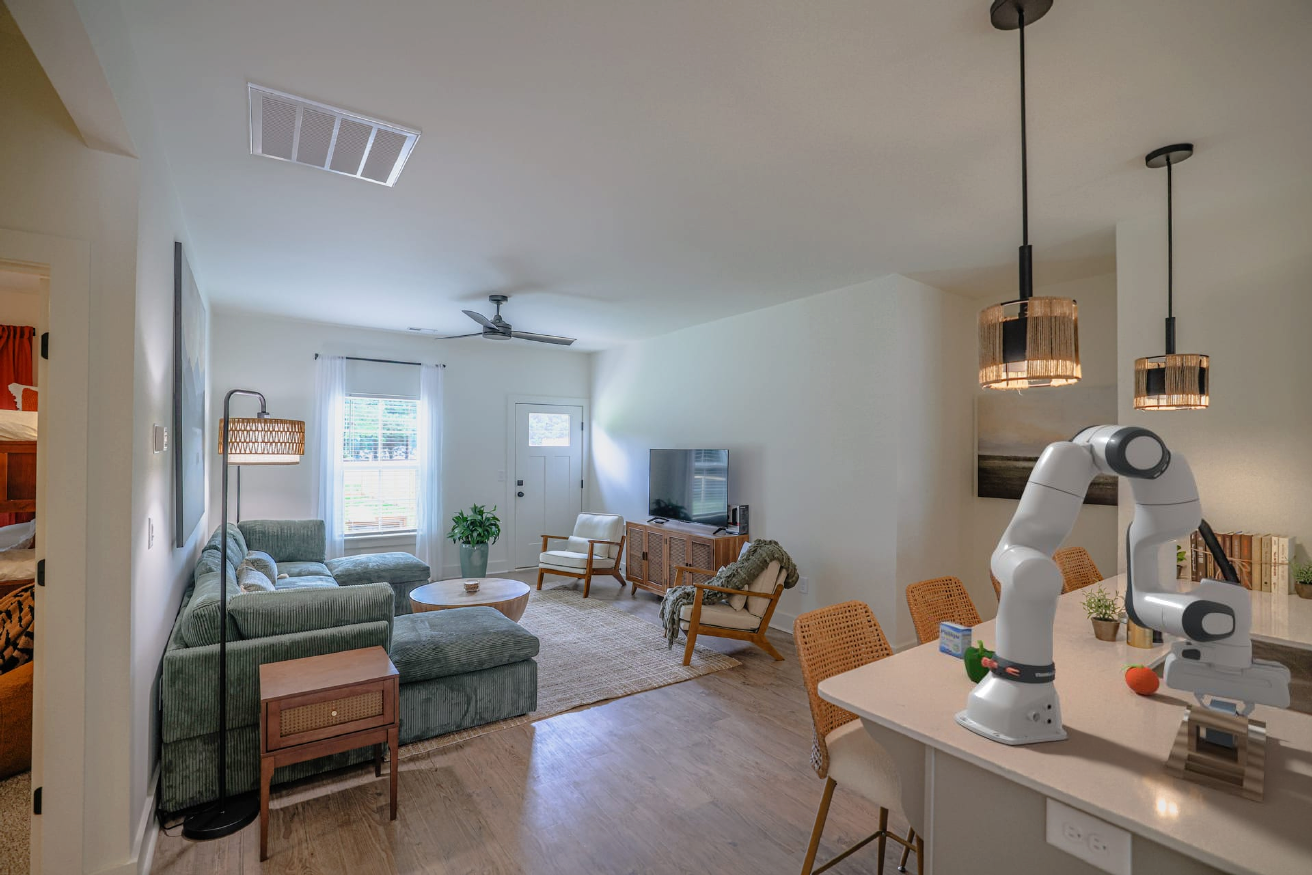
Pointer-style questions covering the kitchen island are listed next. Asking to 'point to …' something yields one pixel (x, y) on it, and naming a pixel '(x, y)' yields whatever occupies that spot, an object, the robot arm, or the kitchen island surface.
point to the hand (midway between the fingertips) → (1223, 717)
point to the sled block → (1220, 736)
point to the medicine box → (954, 639)
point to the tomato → (1141, 679)
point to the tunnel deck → (1220, 753)
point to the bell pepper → (976, 662)
